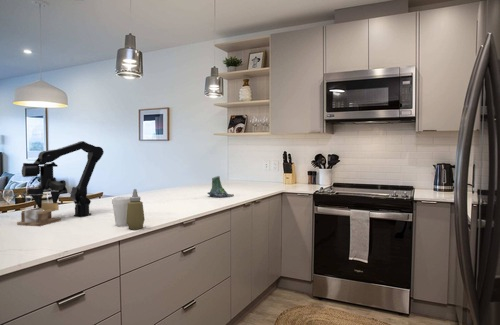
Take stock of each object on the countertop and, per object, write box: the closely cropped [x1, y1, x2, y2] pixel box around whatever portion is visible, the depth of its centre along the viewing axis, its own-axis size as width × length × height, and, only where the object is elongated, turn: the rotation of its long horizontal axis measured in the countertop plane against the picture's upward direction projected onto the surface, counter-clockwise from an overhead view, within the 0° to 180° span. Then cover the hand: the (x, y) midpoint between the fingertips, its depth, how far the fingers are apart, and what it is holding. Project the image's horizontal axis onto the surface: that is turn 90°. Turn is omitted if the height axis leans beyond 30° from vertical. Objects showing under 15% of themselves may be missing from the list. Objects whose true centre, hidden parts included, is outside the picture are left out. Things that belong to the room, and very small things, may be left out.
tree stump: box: [206, 175, 234, 199], centre depth 256 cm, size 18×20×18 cm
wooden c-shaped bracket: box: [21, 201, 60, 214], centre depth 167 cm, size 11×11×4 cm
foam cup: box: [111, 196, 131, 227], centre depth 161 cm, size 10×9×13 cm
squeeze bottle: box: [126, 188, 145, 230], centre depth 154 cm, size 8×8×18 cm
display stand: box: [16, 208, 62, 227], centre depth 166 cm, size 13×13×7 cm
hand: (47, 206), depth 171 cm, fingers open, 9 cm apart
